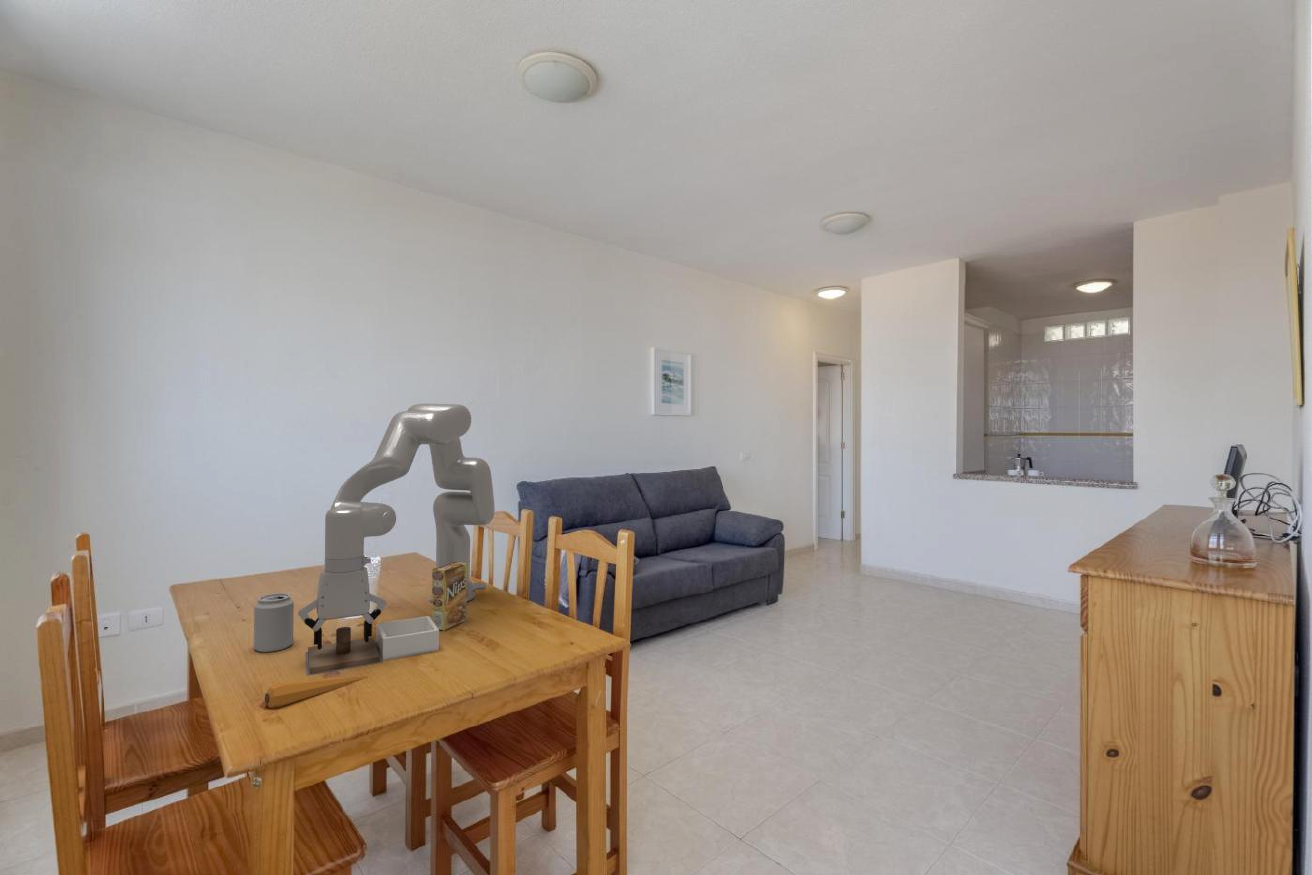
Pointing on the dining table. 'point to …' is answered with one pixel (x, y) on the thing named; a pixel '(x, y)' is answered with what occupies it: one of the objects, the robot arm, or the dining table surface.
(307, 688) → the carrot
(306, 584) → the dining table surface
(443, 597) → the candy box
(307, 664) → the mat
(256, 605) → the can
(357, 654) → the lid
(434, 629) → the grey storage bin
